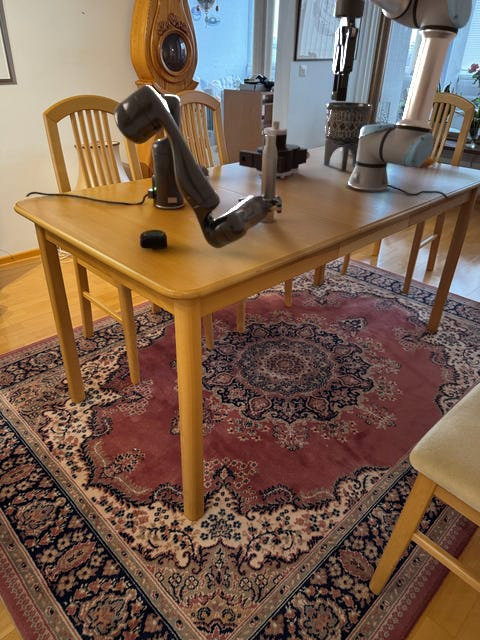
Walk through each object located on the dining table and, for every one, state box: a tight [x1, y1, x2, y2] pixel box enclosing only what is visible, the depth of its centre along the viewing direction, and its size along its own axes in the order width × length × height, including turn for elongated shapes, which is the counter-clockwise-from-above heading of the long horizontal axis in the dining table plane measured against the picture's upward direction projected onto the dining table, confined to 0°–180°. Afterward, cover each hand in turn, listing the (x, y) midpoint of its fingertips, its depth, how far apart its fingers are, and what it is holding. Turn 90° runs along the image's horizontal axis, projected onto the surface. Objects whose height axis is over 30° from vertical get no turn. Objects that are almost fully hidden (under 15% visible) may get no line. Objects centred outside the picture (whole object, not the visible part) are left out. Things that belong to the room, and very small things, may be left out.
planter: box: [323, 101, 374, 172], centre depth 204 cm, size 20×20×26 cm
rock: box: [197, 163, 210, 178], centre depth 182 cm, size 13×9×6 cm, turn 131°
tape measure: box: [139, 229, 168, 250], centre depth 117 cm, size 7×7×4 cm
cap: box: [330, 91, 348, 101], centre depth 127 cm, size 4×4×2 cm
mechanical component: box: [238, 120, 311, 179], centre depth 191 cm, size 22×21×30 cm
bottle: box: [260, 135, 277, 223], centre depth 134 cm, size 4×4×25 cm
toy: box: [418, 156, 435, 169], centre depth 214 cm, size 11×6×15 cm
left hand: (270, 197), depth 139 cm, fingers closed on bottle, 4 cm apart
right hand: (338, 100), depth 128 cm, fingers closed on cap, 4 cm apart
